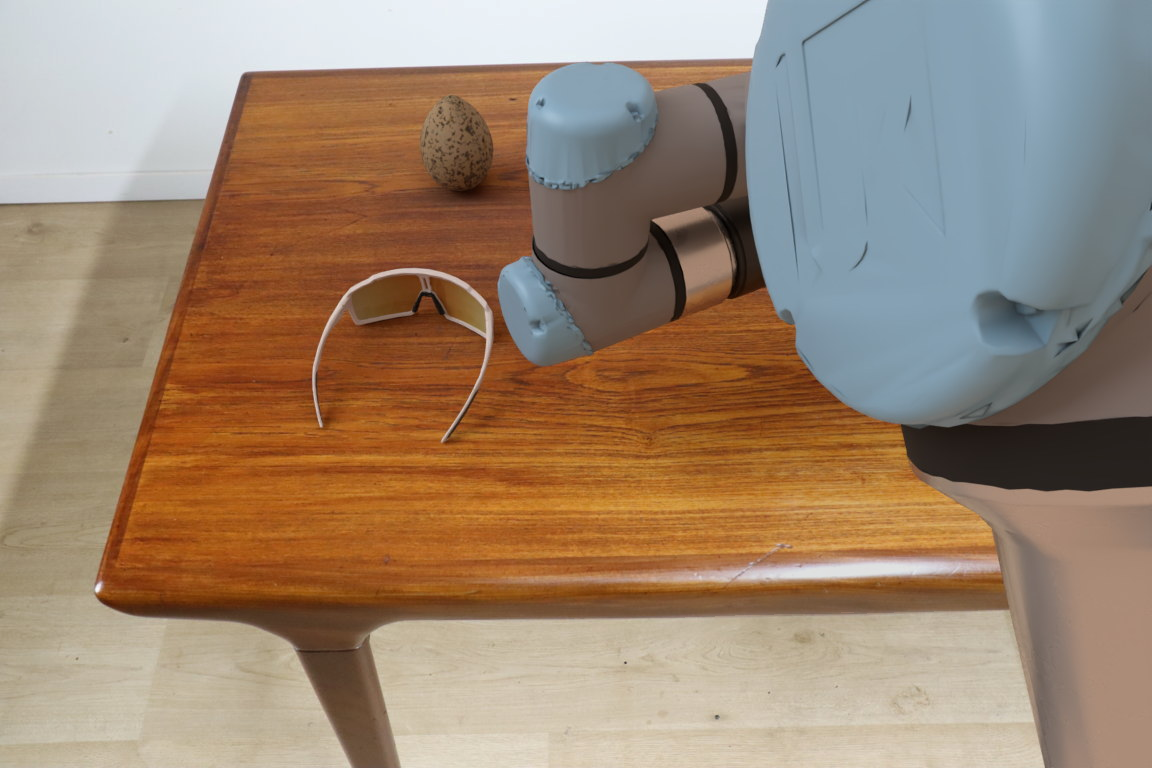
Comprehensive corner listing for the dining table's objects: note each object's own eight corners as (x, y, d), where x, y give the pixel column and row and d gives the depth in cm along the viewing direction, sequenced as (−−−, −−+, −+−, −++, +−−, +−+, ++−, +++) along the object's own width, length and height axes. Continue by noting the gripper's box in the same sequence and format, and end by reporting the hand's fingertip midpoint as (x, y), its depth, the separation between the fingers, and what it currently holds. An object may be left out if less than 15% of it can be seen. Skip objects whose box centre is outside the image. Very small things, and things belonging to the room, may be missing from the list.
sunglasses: (512, 313, 83) (506, 275, 79) (473, 461, 74) (464, 427, 70) (357, 297, 85) (343, 259, 80) (302, 439, 76) (283, 405, 72)
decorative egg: (493, 206, 94) (484, 117, 86) (421, 206, 94) (406, 116, 87) (499, 165, 99) (491, 77, 91) (431, 164, 99) (418, 76, 92)
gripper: (623, 203, 78) (830, 135, 85) (807, 401, 63) (1043, 299, 69) (625, 123, 73) (847, 57, 79) (827, 318, 58) (1081, 216, 64)
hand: (939, 170), depth 74 cm, fingers open, 13 cm apart
